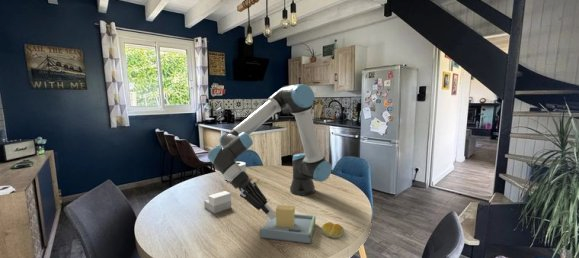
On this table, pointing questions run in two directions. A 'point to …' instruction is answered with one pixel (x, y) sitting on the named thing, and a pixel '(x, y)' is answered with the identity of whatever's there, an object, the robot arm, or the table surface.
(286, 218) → the ochre block
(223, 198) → the foam block
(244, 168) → the roll of tape
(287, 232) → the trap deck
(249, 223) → the table surface
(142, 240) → the table surface
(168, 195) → the table surface
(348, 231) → the table surface
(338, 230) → the bread roll
